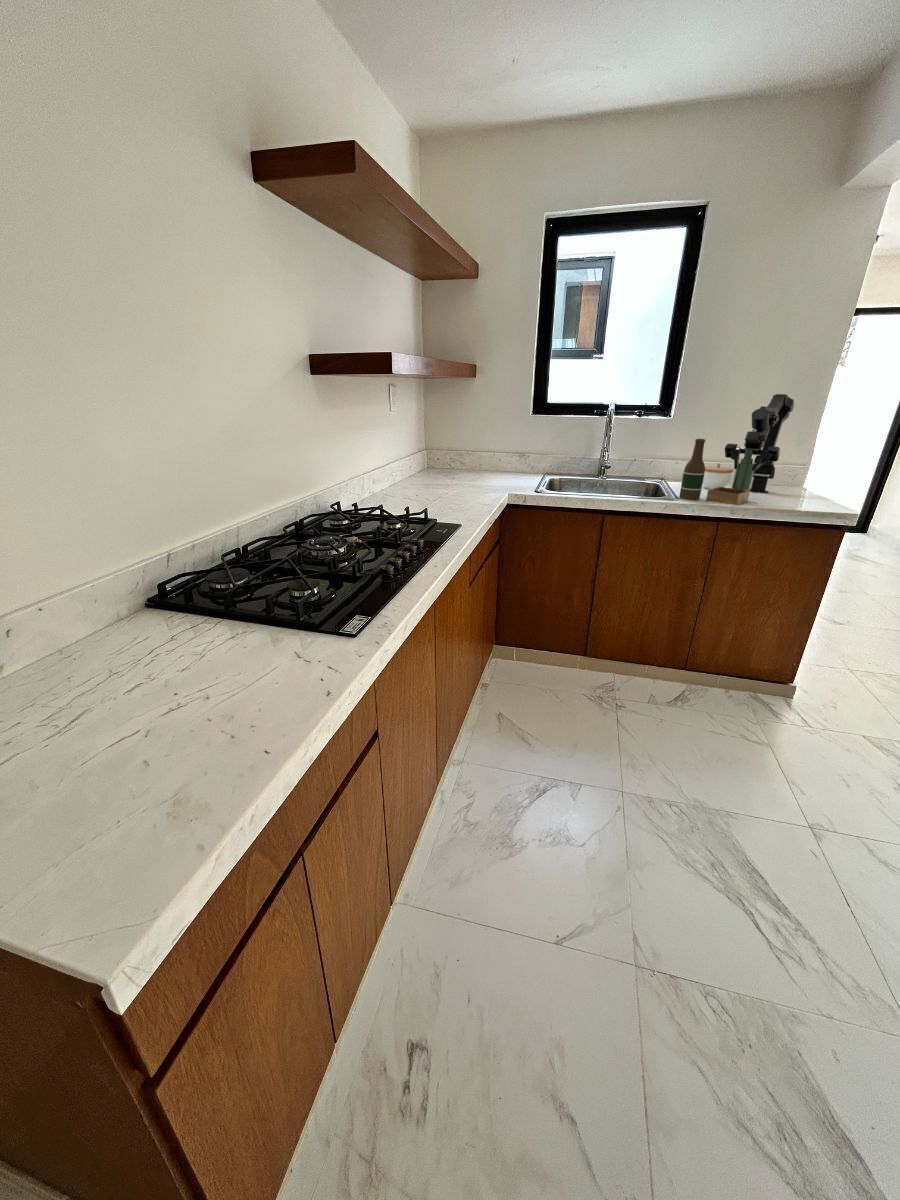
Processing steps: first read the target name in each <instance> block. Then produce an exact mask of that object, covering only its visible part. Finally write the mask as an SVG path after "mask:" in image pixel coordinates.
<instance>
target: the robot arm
mask: <svg viewBox="0 0 900 1200" xmlns="http://www.w3.org/2000/svg"><path fill="white" fill-rule="evenodd" d="M794 409H795V401H794V399H792V397H789V395H788V394H786V393H775V394H773V395H772V398H771V399H770V401H769V403H768V405H767V406H762V405H761V406H760V407H759V408H757V409H755V410H753V411H752V413H751V429H752V431H747V432H746V434H745V438H744V444H743V446H744V447H740V446H739V444H737V443H727V444H726V445H725V446H724V457H725V458H727V459H731V460H733V461H734V462H733V463H734V465H733V470H736V466H737V462H740V461H741V459H740V458H741V457H740V455H741V454H743V455H745V450H746V449H753V454H752V456H755V458H754V459H753V463H756V464H755V466H754V469H753V471H754V474H753V478H752V482H751V486H750V489H749V490H748V491H750V492H752V493H769V490H767V489H766V488H767V484H768V481H769V480H774V479H775V473H776V467H775V462H778V461H779V459H780V455H781V453H780V452H781V448H780V446H776V444H777V442H778V438H779V435H780V432H781V429H782V426H783V423H784V422H785V421H786V420H788V418H790V415H791V413H792V412H793V410H794Z"/></svg>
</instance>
